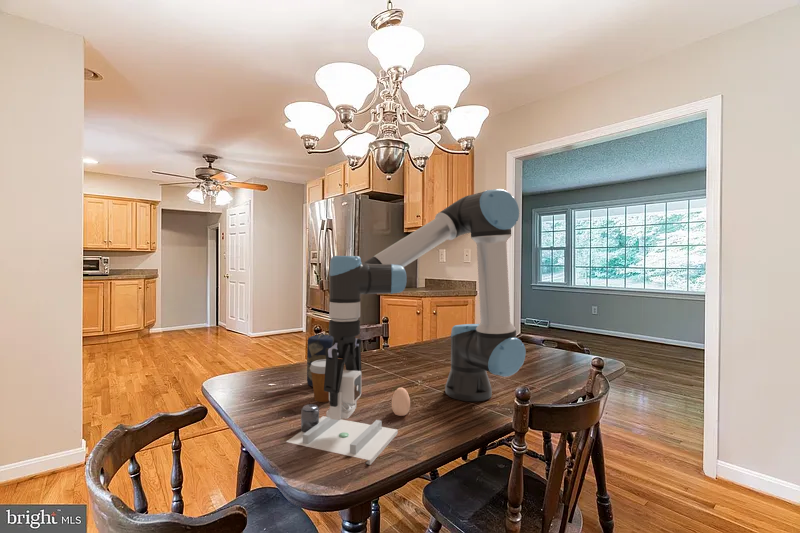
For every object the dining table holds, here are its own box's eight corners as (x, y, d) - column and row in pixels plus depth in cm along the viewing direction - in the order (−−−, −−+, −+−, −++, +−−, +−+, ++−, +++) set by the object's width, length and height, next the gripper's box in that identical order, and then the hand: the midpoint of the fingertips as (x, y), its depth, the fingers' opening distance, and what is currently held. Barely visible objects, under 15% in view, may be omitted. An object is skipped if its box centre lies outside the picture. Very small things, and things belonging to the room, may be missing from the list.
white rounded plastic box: (353, 420, 89) (353, 377, 89) (325, 417, 90) (325, 375, 90) (361, 410, 95) (361, 370, 95) (335, 407, 96) (335, 368, 96)
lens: (322, 426, 97) (322, 405, 97) (312, 433, 93) (312, 411, 93) (307, 424, 99) (307, 402, 99) (297, 431, 95) (297, 408, 95)
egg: (408, 412, 109) (408, 384, 109) (411, 420, 104) (412, 390, 104) (390, 413, 109) (390, 385, 109) (392, 421, 103) (393, 391, 103)
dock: (397, 433, 96) (397, 421, 96) (370, 464, 81) (370, 451, 81) (323, 419, 104) (323, 408, 104) (285, 445, 89) (285, 433, 89)
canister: (301, 386, 131) (301, 335, 131) (317, 379, 140) (317, 330, 139) (324, 390, 127) (325, 337, 127) (339, 382, 136) (339, 332, 136)
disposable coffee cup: (325, 409, 111) (326, 368, 111) (302, 402, 116) (303, 364, 116) (346, 399, 119) (347, 361, 119) (324, 393, 124) (324, 357, 124)
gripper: (350, 313, 103) (349, 397, 103) (307, 323, 84) (306, 426, 85) (375, 314, 100) (374, 401, 100) (337, 326, 82) (335, 432, 82)
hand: (343, 412), depth 92 cm, fingers closed on white rounded plastic box, 7 cm apart
